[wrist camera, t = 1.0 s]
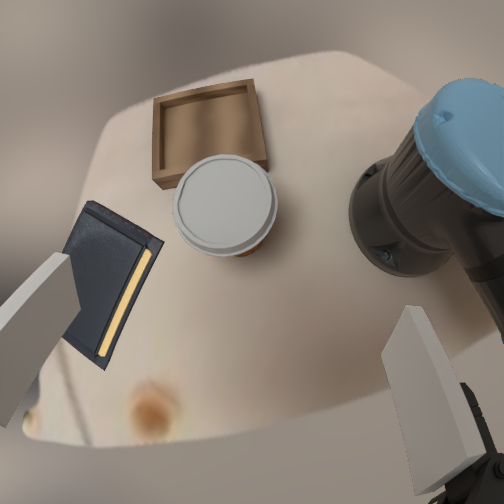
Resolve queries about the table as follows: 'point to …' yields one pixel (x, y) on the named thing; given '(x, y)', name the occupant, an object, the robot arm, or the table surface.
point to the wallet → (106, 277)
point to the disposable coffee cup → (225, 206)
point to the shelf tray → (205, 129)
